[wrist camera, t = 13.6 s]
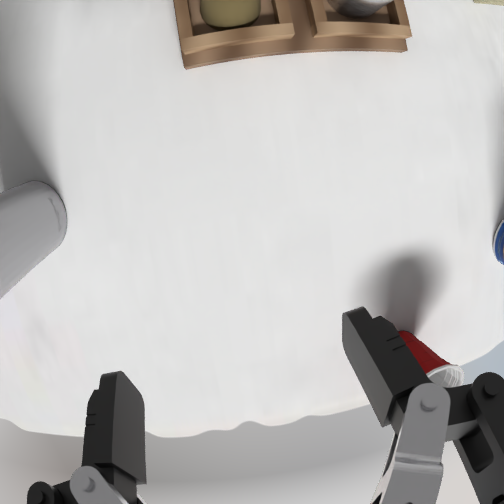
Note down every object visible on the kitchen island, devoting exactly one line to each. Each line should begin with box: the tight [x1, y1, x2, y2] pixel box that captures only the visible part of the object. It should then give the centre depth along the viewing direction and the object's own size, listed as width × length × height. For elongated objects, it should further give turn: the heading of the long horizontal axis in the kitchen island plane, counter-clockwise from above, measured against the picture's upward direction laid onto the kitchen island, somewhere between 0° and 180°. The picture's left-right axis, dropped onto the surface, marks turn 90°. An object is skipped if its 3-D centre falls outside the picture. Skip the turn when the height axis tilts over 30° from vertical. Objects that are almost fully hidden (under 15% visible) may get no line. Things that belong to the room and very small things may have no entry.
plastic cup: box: [398, 331, 464, 388], centre depth 38 cm, size 11×11×12 cm
